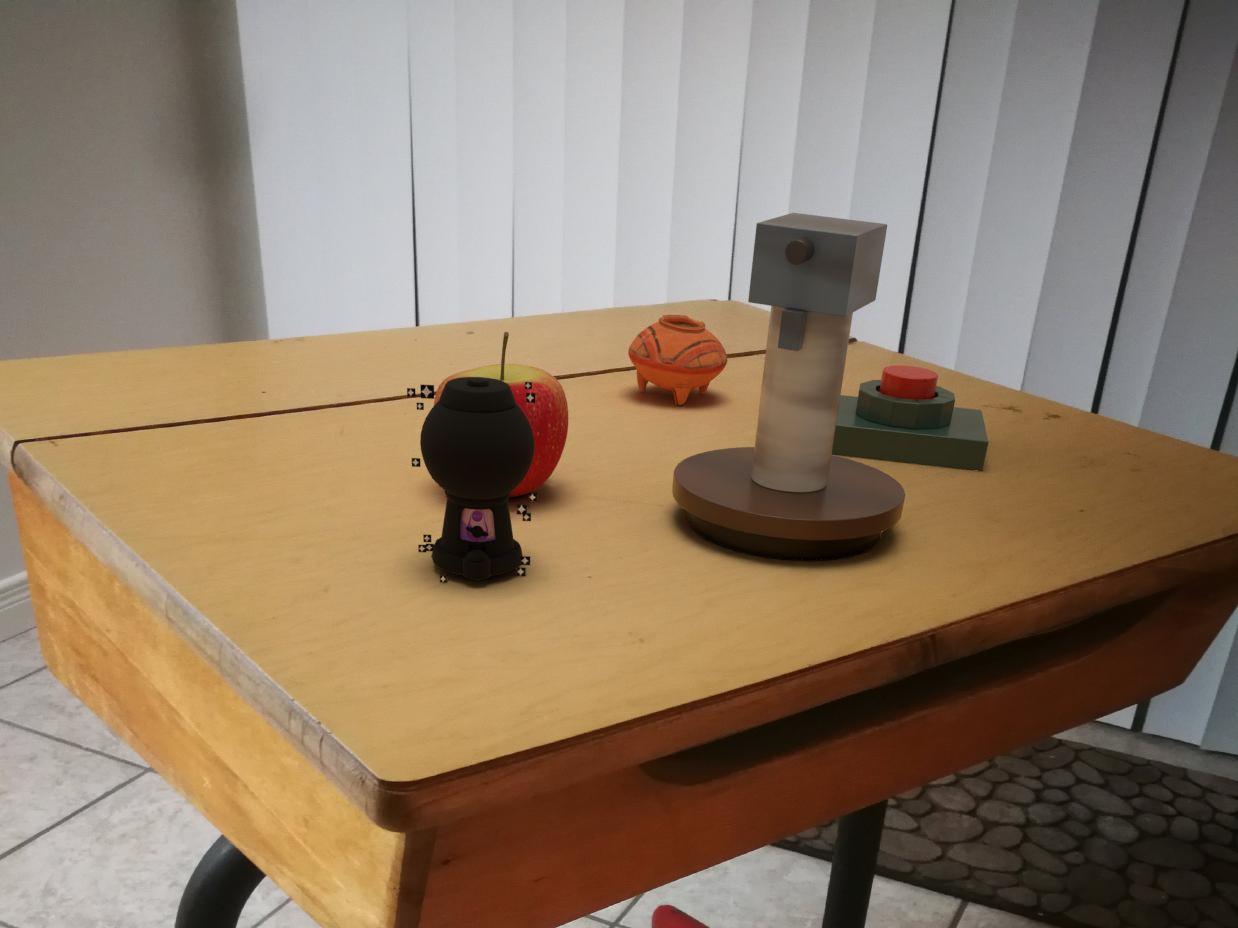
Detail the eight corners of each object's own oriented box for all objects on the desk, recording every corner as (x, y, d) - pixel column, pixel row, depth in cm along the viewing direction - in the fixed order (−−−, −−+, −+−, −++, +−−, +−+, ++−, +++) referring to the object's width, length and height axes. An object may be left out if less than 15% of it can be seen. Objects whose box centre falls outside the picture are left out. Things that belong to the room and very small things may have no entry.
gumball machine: (408, 586, 67) (402, 391, 61) (415, 546, 72) (410, 362, 66) (536, 590, 67) (542, 397, 62) (534, 549, 72) (538, 368, 67)
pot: (675, 375, 108) (696, 296, 103) (730, 420, 104) (755, 340, 99) (599, 381, 104) (618, 299, 99) (654, 428, 100) (676, 345, 95)
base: (881, 506, 83) (885, 486, 82) (879, 571, 73) (883, 550, 72) (699, 485, 84) (701, 465, 83) (672, 546, 74) (674, 524, 73)
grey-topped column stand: (721, 452, 85) (748, 198, 77) (926, 491, 81) (977, 225, 72) (634, 509, 74) (654, 220, 66) (865, 558, 70) (917, 254, 61)
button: (933, 393, 94) (937, 368, 94) (934, 406, 91) (939, 380, 90) (878, 387, 95) (883, 362, 94) (878, 400, 92) (882, 375, 91)
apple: (441, 515, 76) (438, 340, 71) (429, 471, 83) (425, 309, 78) (576, 513, 78) (583, 342, 73) (553, 470, 85) (558, 312, 80)
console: (975, 438, 98) (987, 385, 96) (982, 472, 90) (994, 415, 88) (820, 421, 99) (827, 368, 97) (813, 453, 92) (821, 397, 90)
